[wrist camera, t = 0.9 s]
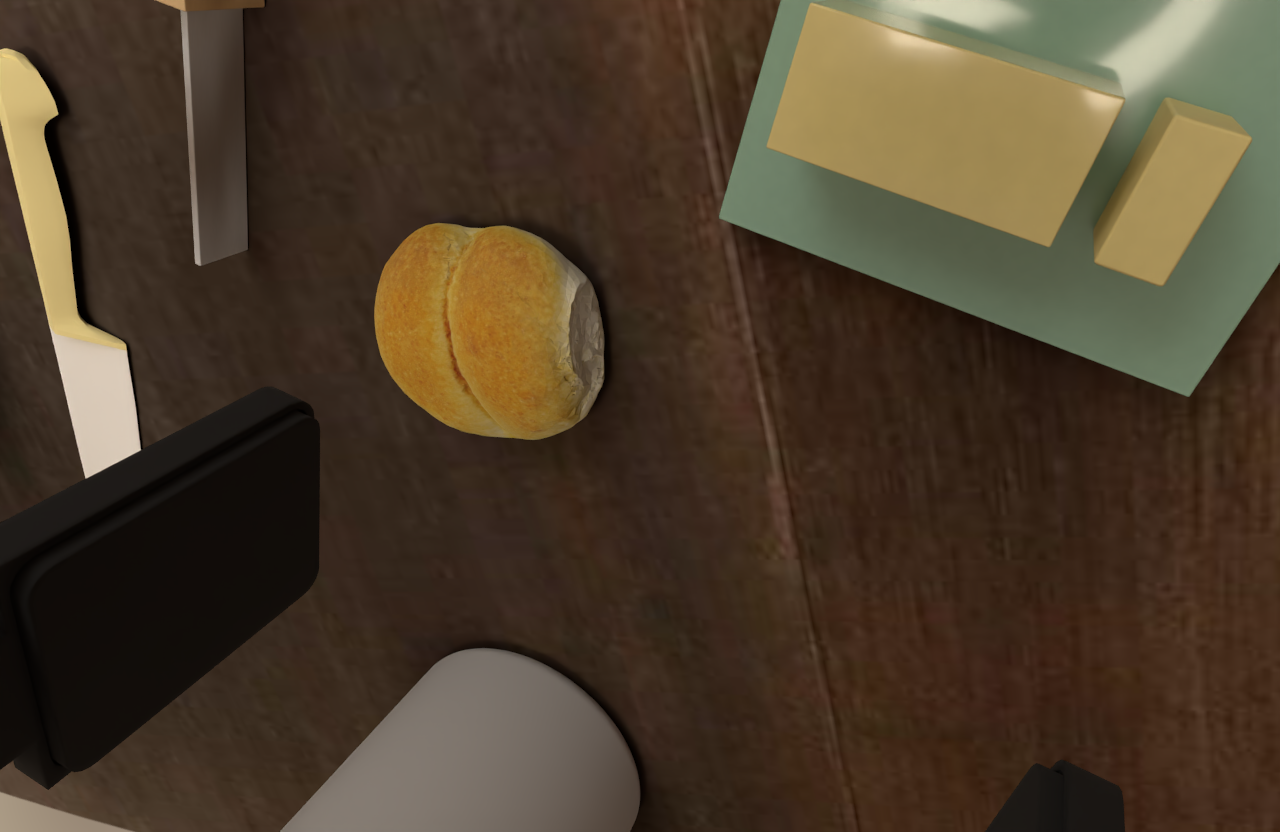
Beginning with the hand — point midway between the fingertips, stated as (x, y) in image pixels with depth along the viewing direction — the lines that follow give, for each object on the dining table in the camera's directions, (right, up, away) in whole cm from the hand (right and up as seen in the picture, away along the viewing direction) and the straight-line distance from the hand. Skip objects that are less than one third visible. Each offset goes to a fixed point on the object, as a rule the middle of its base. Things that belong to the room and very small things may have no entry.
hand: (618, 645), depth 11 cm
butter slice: (+13, +9, +11) cm, 19 cm away
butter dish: (+10, +11, +13) cm, 20 cm away
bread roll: (-5, +6, +23) cm, 24 cm away
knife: (-28, +4, +36) cm, 46 cm away
